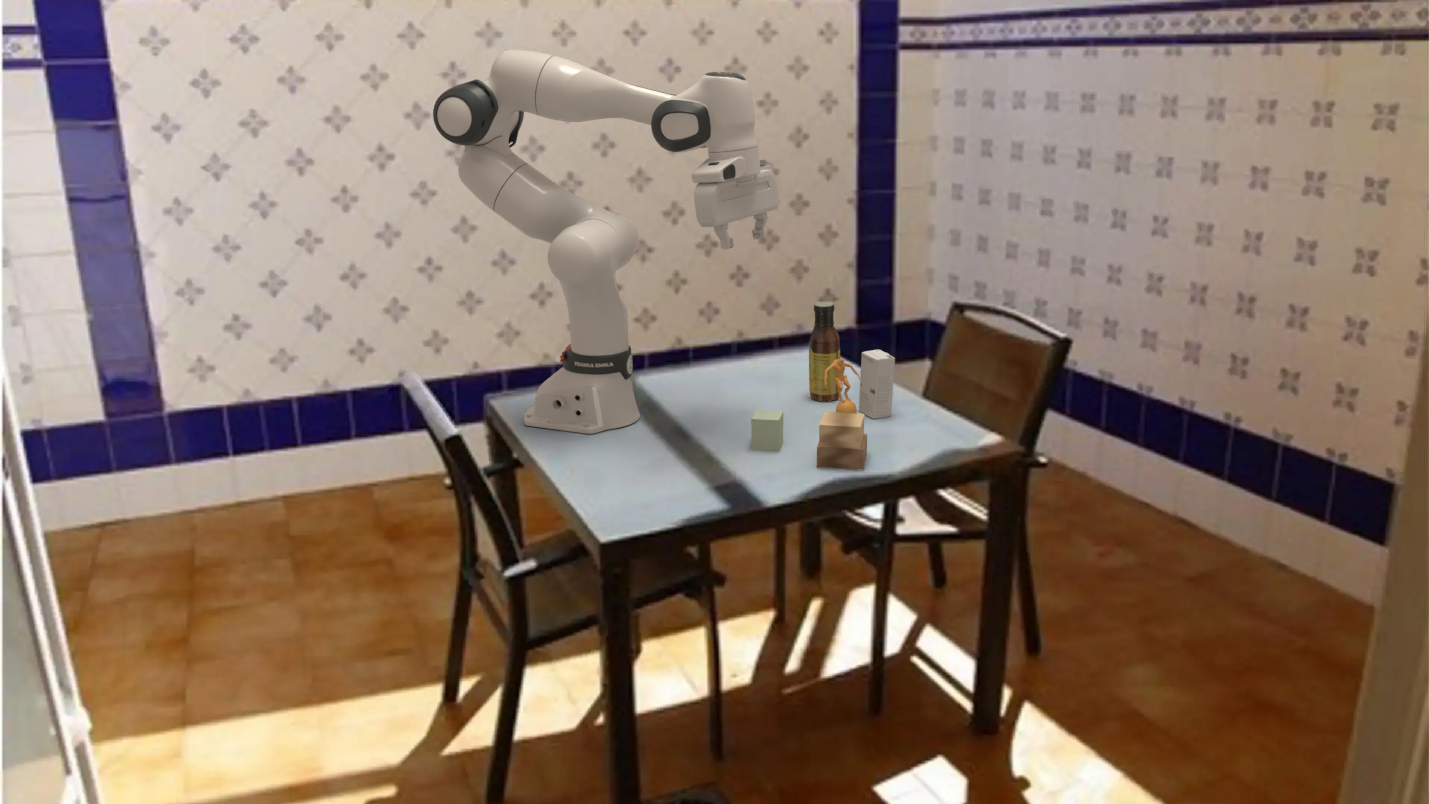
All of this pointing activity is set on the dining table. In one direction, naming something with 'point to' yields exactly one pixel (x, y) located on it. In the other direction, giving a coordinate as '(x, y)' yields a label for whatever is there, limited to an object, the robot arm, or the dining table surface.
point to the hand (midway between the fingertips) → (743, 243)
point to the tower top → (841, 430)
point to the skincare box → (876, 383)
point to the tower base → (842, 456)
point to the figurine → (839, 368)
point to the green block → (767, 430)
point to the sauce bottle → (823, 353)
